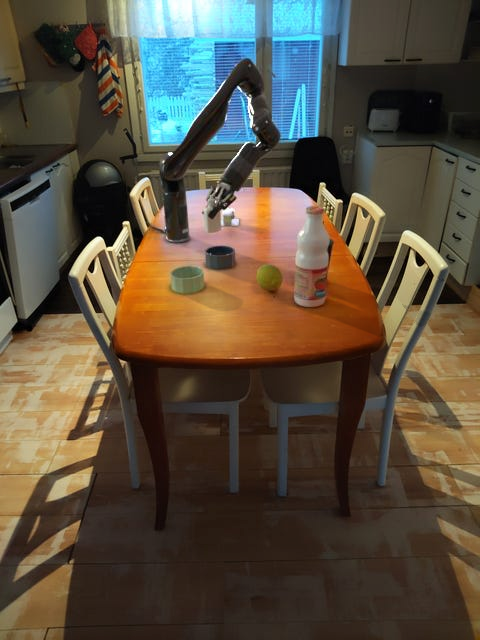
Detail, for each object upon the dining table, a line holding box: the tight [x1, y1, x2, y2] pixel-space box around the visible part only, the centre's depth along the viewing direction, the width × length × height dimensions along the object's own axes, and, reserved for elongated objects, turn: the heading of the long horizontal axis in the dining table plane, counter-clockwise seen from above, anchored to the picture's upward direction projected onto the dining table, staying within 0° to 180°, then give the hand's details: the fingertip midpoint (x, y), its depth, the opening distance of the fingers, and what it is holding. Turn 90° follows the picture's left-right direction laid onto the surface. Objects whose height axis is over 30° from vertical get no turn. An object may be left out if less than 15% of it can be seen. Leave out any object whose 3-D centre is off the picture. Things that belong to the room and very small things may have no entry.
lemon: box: [256, 263, 283, 292], centre depth 144 cm, size 11×8×8 cm
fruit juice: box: [293, 205, 331, 308], centre depth 131 cm, size 9×9×28 cm
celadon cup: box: [169, 265, 205, 295], centre depth 147 cm, size 10×10×5 cm
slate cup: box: [204, 245, 236, 271], centre depth 163 cm, size 10×10×5 cm
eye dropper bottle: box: [203, 195, 222, 234], centre depth 152 cm, size 4×6×12 cm
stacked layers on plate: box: [221, 207, 240, 227], centre depth 206 cm, size 10×9×6 cm
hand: (206, 216), depth 152 cm, fingers closed on eye dropper bottle, 3 cm apart
